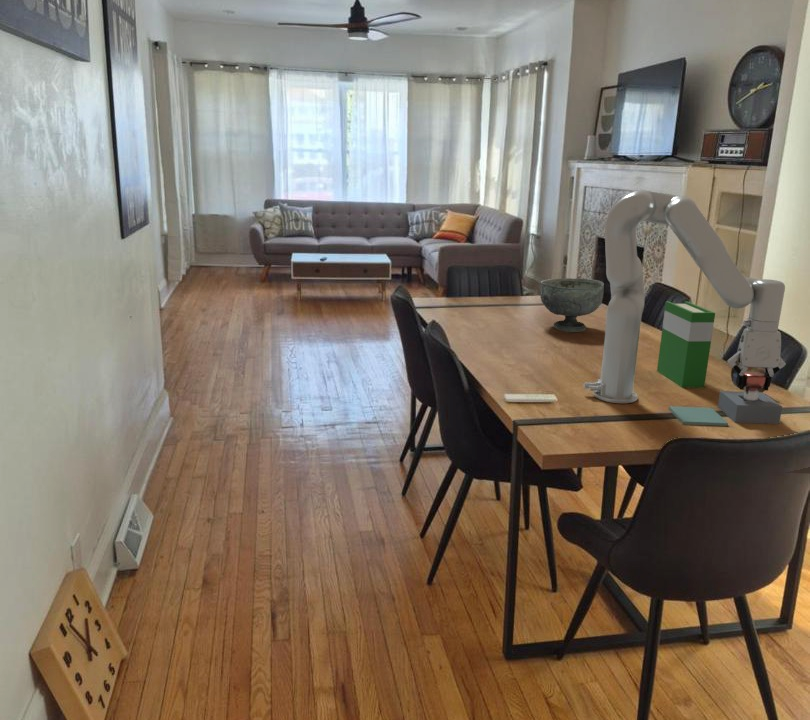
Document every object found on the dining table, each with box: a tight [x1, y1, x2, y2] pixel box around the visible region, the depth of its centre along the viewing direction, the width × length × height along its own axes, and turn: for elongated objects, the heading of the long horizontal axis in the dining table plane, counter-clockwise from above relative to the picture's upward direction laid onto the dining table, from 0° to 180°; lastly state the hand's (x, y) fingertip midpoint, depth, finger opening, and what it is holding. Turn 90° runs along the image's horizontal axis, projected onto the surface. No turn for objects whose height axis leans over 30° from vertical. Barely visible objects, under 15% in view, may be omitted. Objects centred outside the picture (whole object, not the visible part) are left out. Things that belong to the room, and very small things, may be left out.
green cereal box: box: [656, 300, 716, 389], centre depth 226 cm, size 18×7×24 cm, turn 6°
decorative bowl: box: [539, 277, 605, 333], centre depth 292 cm, size 26×26×20 cm
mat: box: [668, 405, 729, 427], centre depth 195 cm, size 12×12×1 cm
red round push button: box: [743, 372, 766, 402], centre depth 196 cm, size 6×6×12 cm
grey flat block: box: [717, 390, 783, 425], centre depth 197 cm, size 12×12×5 cm
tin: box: [730, 361, 766, 393], centre depth 219 cm, size 15×3×8 cm, turn 9°
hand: (752, 388), depth 195 cm, fingers closed on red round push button, 6 cm apart
